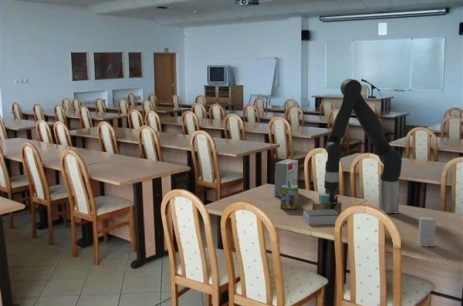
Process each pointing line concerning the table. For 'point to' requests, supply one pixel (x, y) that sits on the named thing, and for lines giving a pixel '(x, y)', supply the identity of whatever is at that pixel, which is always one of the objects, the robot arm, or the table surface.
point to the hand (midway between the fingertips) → (330, 211)
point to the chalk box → (289, 196)
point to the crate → (323, 198)
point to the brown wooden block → (326, 206)
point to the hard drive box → (285, 174)
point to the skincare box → (426, 230)
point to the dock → (320, 216)
